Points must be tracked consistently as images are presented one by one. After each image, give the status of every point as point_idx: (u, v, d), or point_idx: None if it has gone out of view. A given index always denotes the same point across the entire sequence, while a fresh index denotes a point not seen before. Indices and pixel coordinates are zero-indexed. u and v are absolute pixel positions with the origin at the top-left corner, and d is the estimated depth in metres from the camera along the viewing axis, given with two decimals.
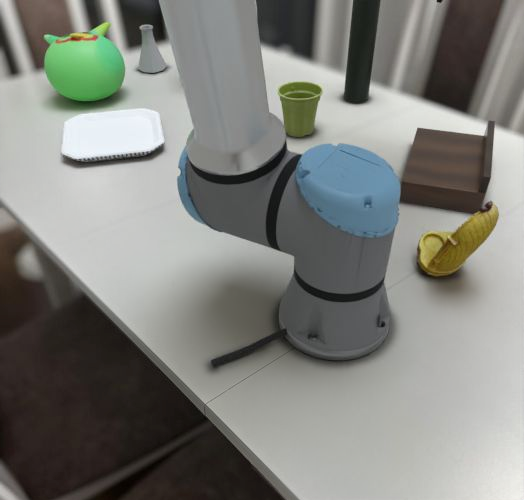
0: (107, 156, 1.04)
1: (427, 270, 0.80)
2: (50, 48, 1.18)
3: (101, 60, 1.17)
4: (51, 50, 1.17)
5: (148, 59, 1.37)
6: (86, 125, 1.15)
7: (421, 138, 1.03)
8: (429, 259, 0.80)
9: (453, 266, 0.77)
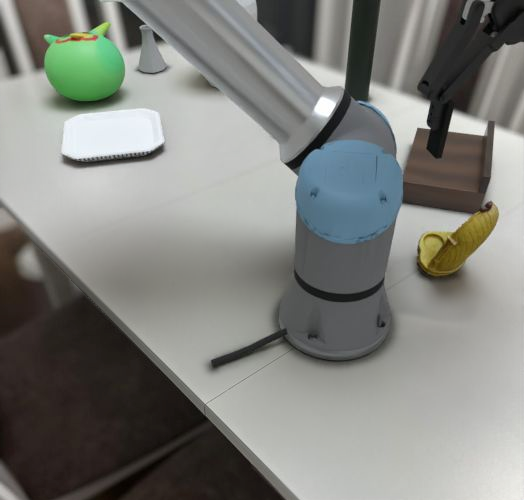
0: (107, 156, 1.04)
1: (427, 270, 0.80)
2: (50, 48, 1.18)
3: (101, 60, 1.17)
4: (51, 50, 1.17)
5: (148, 59, 1.37)
6: (86, 125, 1.15)
7: (421, 138, 1.03)
8: (429, 259, 0.80)
9: (453, 266, 0.77)
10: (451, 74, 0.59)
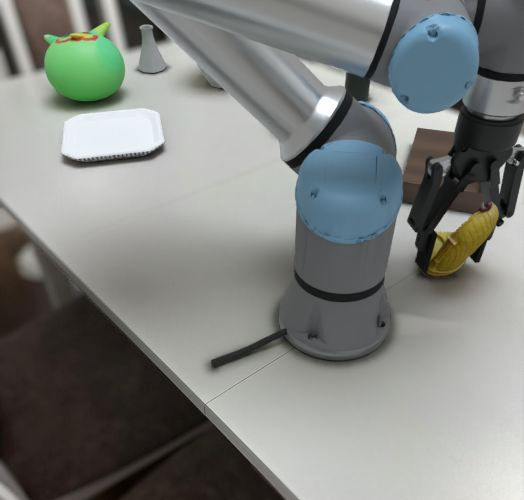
0: (107, 156, 1.04)
1: None
2: (50, 48, 1.18)
3: (101, 60, 1.17)
4: (51, 50, 1.17)
5: (148, 59, 1.37)
6: (86, 125, 1.15)
7: (421, 138, 1.03)
8: None
9: (453, 266, 0.77)
10: (430, 212, 0.72)
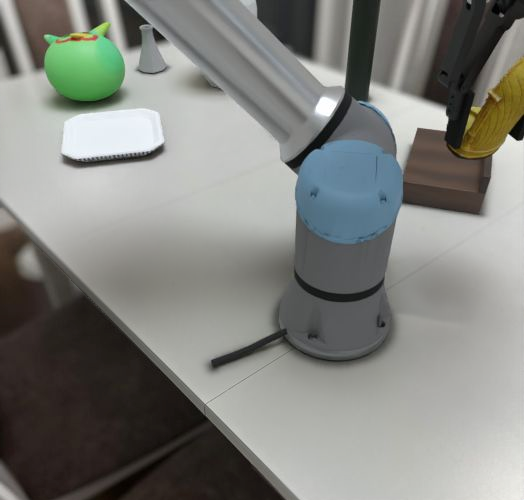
0: (107, 156, 1.04)
1: (459, 150, 0.66)
2: (50, 48, 1.18)
3: (101, 60, 1.17)
4: (51, 50, 1.17)
5: (148, 59, 1.37)
6: (86, 125, 1.15)
7: (421, 138, 1.03)
8: None
9: (492, 141, 0.64)
10: (467, 62, 0.58)
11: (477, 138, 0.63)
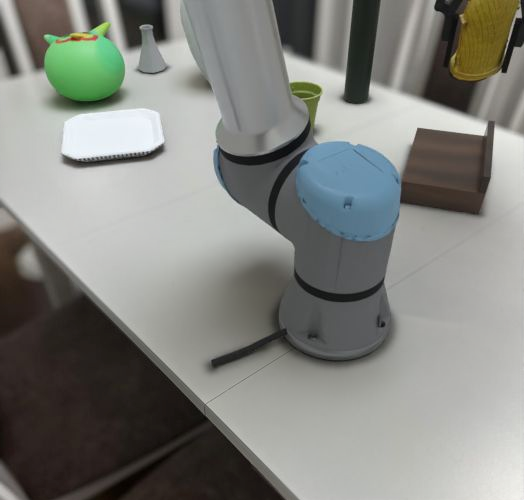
0: (107, 156, 1.04)
1: (452, 71, 0.82)
2: (50, 48, 1.18)
3: (101, 60, 1.17)
4: (51, 50, 1.17)
5: (148, 59, 1.37)
6: (86, 125, 1.15)
7: (421, 138, 1.03)
8: None
9: (473, 65, 0.78)
10: None
11: (461, 60, 0.79)
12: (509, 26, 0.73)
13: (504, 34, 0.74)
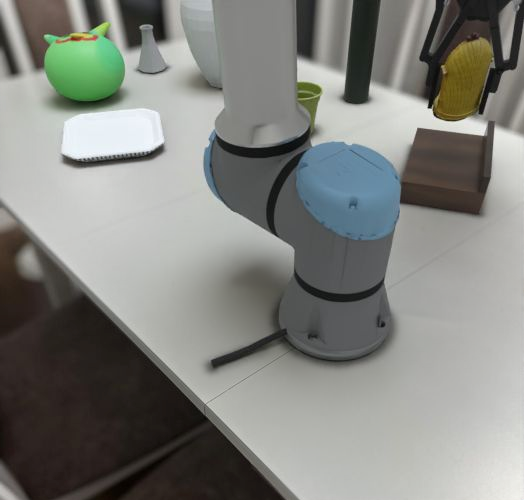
0: (107, 156, 1.04)
1: (436, 111, 0.92)
2: (50, 48, 1.18)
3: (101, 60, 1.17)
4: (51, 50, 1.17)
5: (148, 59, 1.37)
6: (86, 125, 1.15)
7: (421, 138, 1.03)
8: None
9: (453, 107, 0.89)
10: (438, 46, 0.85)
11: (443, 102, 0.90)
12: (484, 76, 0.84)
13: (480, 82, 0.85)
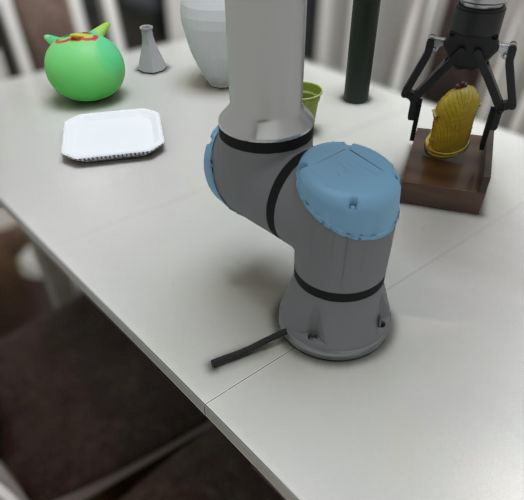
0: (107, 156, 1.04)
1: (427, 149, 0.97)
2: (50, 48, 1.18)
3: (101, 60, 1.17)
4: (51, 50, 1.17)
5: (148, 59, 1.37)
6: (86, 125, 1.15)
7: (421, 138, 1.03)
8: None
9: (443, 146, 0.94)
10: (421, 84, 0.90)
11: (434, 142, 0.95)
12: (472, 119, 0.89)
13: (468, 125, 0.90)
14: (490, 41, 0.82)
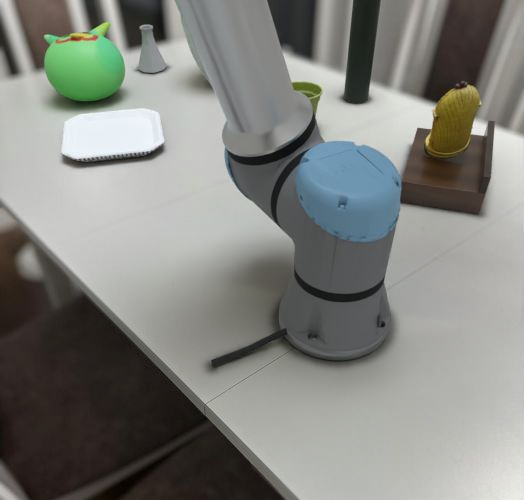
0: (107, 156, 1.04)
1: (427, 149, 0.97)
2: (50, 48, 1.18)
3: (101, 60, 1.17)
4: (51, 50, 1.17)
5: (148, 59, 1.37)
6: (86, 125, 1.15)
7: (421, 138, 1.03)
8: None
9: (443, 146, 0.94)
10: None
11: (434, 142, 0.95)
12: (472, 119, 0.89)
13: (468, 125, 0.90)
14: None
